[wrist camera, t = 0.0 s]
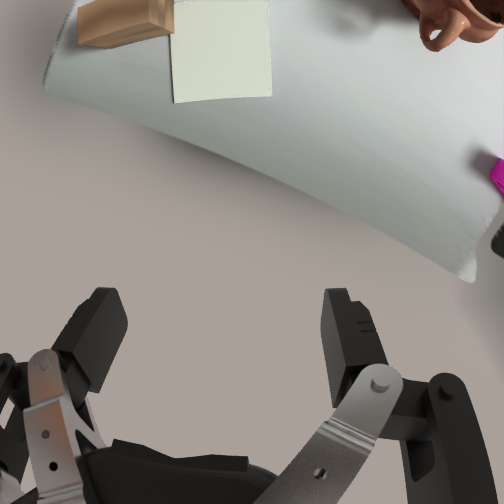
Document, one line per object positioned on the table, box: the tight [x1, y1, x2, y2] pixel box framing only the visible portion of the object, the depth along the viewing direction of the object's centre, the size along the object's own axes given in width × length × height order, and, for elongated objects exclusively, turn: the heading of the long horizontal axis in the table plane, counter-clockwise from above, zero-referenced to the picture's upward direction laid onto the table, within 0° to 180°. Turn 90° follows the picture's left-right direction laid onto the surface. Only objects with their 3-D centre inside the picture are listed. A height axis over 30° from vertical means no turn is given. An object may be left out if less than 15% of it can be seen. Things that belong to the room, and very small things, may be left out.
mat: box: [170, 0, 272, 103], centre depth 30 cm, size 14×12×1 cm
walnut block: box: [77, 0, 175, 49], centre depth 24 cm, size 5×9×8 cm, turn 92°
